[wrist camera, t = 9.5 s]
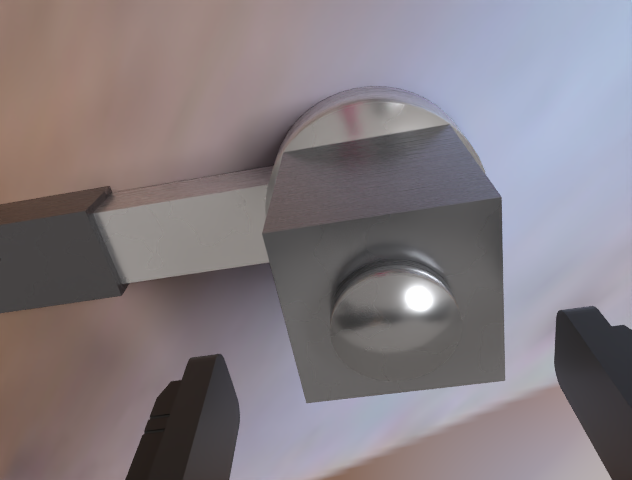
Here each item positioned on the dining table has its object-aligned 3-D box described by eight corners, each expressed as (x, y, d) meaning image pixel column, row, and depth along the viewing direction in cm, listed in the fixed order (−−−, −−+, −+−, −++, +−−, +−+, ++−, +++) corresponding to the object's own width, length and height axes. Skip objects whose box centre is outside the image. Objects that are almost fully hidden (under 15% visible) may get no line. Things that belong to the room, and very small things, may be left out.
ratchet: (-50, 332, 25) (-152, 431, 20) (-148, 180, 21) (-305, 251, 16) (477, 258, 22) (521, 350, 17) (467, 67, 19) (520, 110, 13)
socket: (313, 288, 20) (305, 424, 14) (283, 152, 18) (257, 250, 12) (458, 267, 20) (514, 402, 14) (449, 124, 17) (512, 211, 11)
